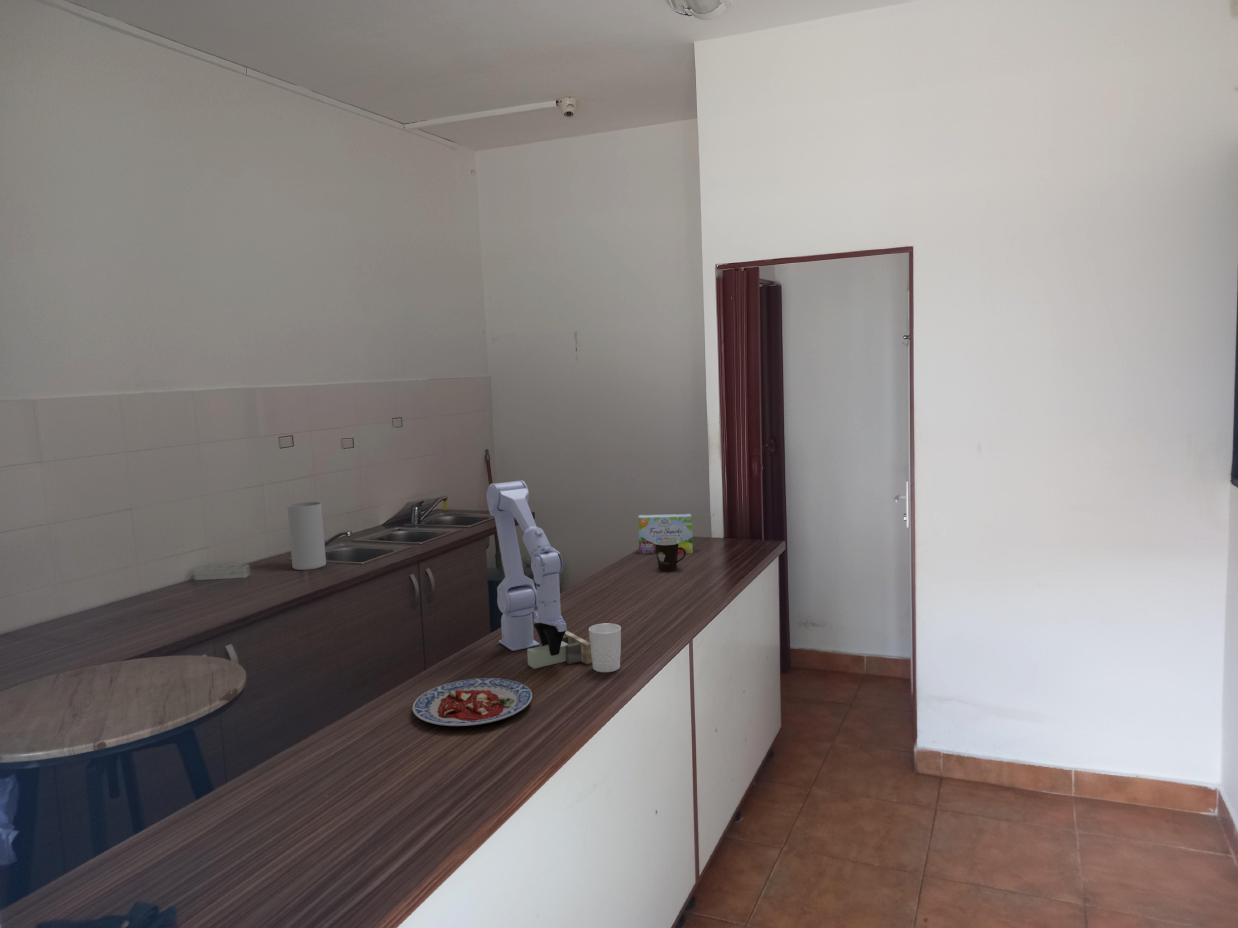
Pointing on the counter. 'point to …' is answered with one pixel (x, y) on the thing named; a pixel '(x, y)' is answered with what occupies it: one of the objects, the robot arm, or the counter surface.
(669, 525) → the snack box
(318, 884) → the counter surface
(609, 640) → the white cup
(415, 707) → the ceramic plate
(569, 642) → the wooden base
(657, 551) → the coffee mug
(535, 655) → the block
